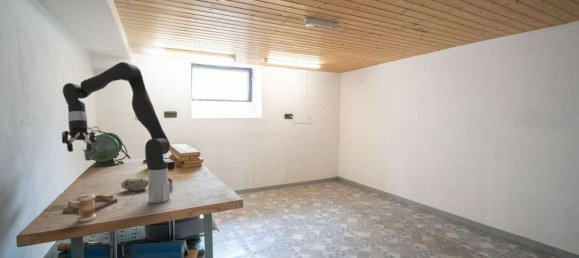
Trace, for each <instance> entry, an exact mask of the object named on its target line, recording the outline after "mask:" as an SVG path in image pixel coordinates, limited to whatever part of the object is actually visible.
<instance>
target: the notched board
mask: <svg viewBox="0 0 579 258" xmlns="http://www.w3.org/2000/svg"><path fill="white" fill-rule="evenodd" d="M94 194H95V196H96V198H95V199H93V200H94V201H95V212H97V211H100V210H102V209H105V208H106V207H108V206H111V205H113V204H115V203H117V202H118V201H119V200H118V198H114V195H113V194H112V195H111V194H97V193H94ZM79 202H81V201H77V198H76V199H72V200H70V201H67V206H66V207H64V208H62V212H63V213H76V214H77V213H78V214H79Z"/></svg>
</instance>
